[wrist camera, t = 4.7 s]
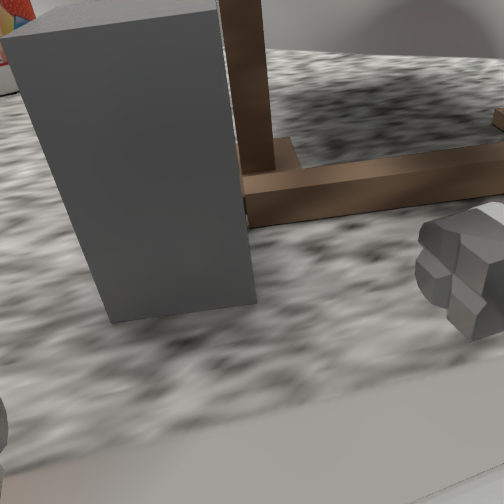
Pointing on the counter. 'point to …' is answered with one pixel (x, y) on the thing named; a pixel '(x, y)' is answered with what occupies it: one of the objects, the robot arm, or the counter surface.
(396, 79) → the counter surface
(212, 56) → the basalt block
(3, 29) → the fruit juice
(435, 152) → the post frame
